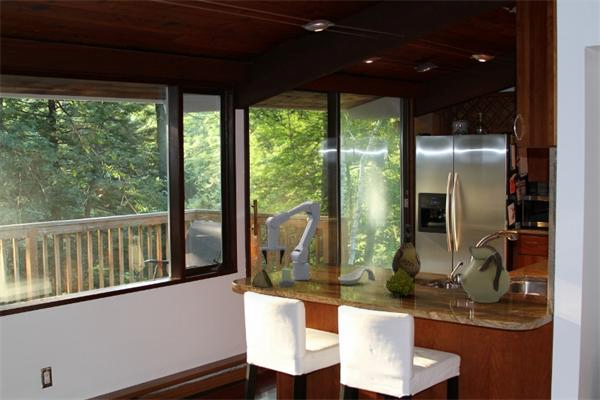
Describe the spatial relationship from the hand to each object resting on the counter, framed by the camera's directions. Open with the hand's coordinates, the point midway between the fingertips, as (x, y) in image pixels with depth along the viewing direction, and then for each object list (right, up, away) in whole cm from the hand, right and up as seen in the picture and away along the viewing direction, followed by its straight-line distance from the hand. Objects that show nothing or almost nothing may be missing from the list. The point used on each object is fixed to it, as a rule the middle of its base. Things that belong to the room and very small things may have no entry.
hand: (273, 263), depth 395 cm
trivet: (+7, -11, -9) cm, 16 cm away
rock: (-6, -11, -11) cm, 17 cm away
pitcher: (+101, -12, -57) cm, 117 cm away
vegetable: (+64, -12, -42) cm, 77 cm away
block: (+7, -8, -9) cm, 14 cm away
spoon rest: (+45, -10, -5) cm, 46 cm away
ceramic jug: (+73, -9, +2) cm, 73 cm away
